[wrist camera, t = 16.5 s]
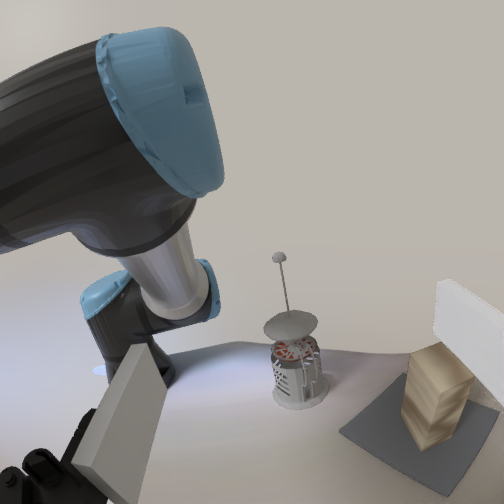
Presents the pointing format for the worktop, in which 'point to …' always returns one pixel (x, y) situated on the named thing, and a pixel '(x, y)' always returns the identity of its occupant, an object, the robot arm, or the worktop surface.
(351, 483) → the worktop surface
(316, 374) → the french press
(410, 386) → the birch block
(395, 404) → the mat
